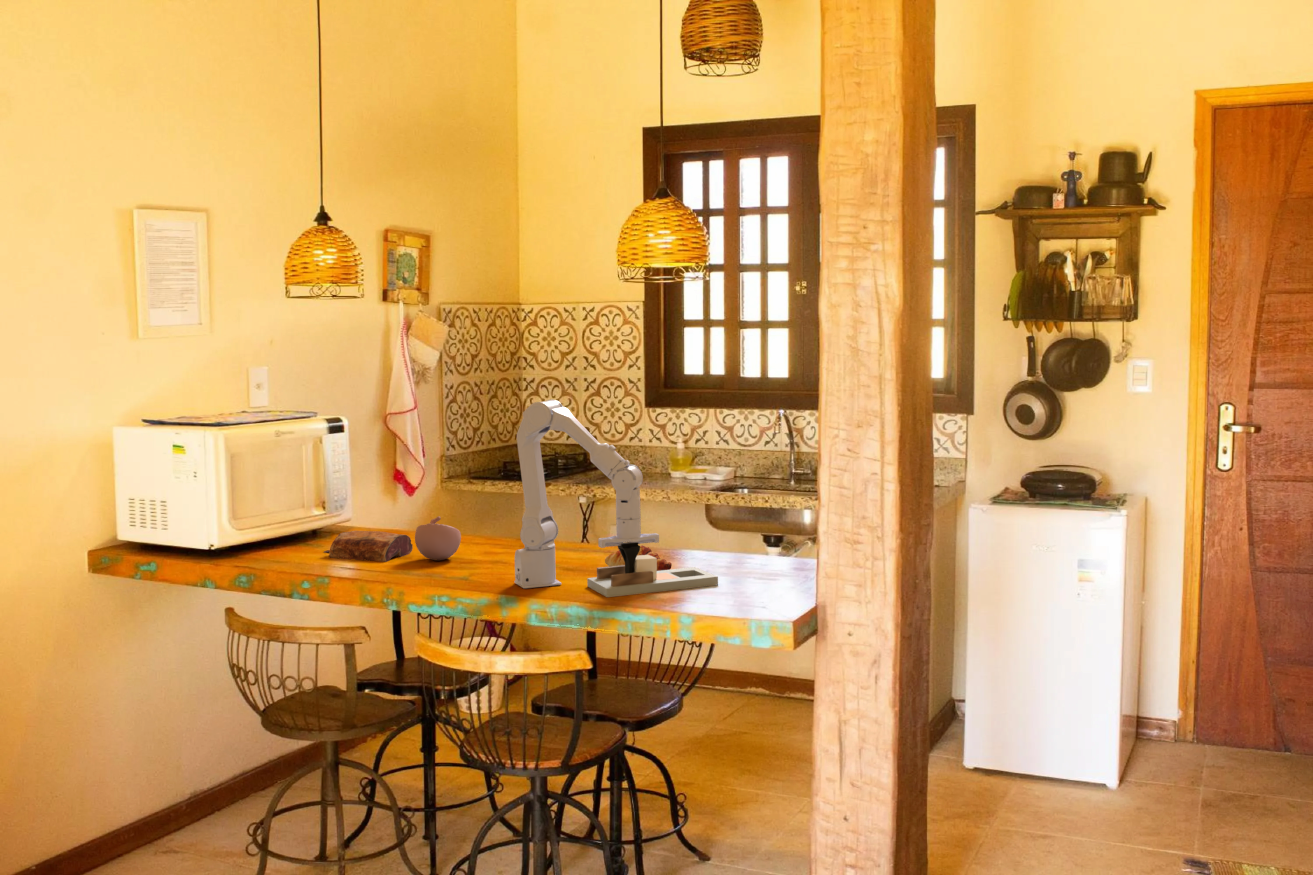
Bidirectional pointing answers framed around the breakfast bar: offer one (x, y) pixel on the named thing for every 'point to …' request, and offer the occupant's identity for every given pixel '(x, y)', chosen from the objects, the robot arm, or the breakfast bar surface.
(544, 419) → the robot arm
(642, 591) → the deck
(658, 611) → the breakfast bar surface
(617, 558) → the croissant
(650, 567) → the cube
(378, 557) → the cured meat
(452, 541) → the pink apple
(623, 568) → the parallel rails
